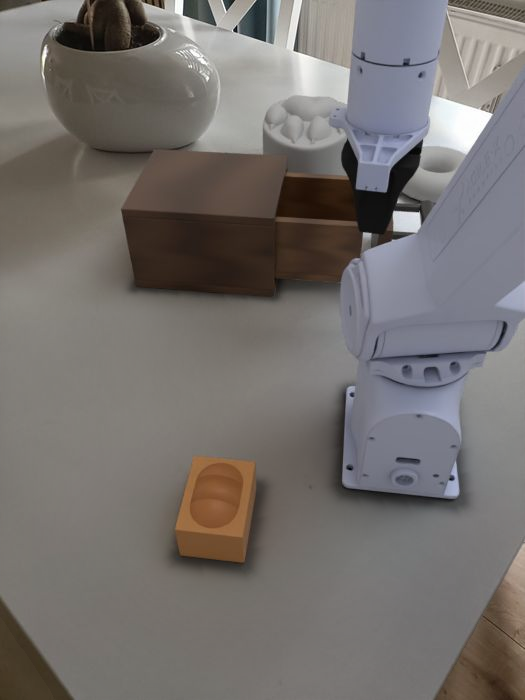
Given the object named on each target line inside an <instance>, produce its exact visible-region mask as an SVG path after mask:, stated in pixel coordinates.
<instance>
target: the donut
mask: <svg viewBox="0 0 525 700" xmlns="http://www.w3.org/2000/svg"><path fill="white" fill-rule="evenodd" d="M420 155H421V158H420V164H419V167H418V169H417V171H416V172H415V174H414V176H413V177H412V178H411V179H410V180H409V181H408V183H407V184H406V185H405V187H404V189H403V190H402V192H401V193H403V194H404V195H406V196H407V197H409V198H412V199H414V200H417V201H419V202H423V201H425V200H430V201H432V202H433V203H434V204H436V202H437V201H438V199H439V197H440V196H441V194H442V193H443V191H444V190H445V188H446V186H447V185H448V183H449V182H450V180H451V179H452V177H453V176H454V174H455V172H456V171H457V169H458V168H459V166H460V165H461V163H462V162H463V160H464V158H465V157H466V155H467V154H466V153H464V152H462V151H460V150H457V149H453V148H451V147H446V146H440V145H424V146H422V152H421V154H420Z"/></svg>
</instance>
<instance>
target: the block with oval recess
mask: <svg viewBox="0 0 525 700" xmlns="http://www.w3.org/2000/svg"><path fill="white" fill-rule="evenodd" d="M190 465H191V466H190V469H189V473H188V477H187V481H186V485H185V488H184V491H183V492H184V493H183V496H182V500H181V504H180V508H179V511H178V515H177V518H176V519H177V520H176V523H175V527H174V532H175V538H176V542H177V546H178V551H179V552H178V553H179V555H180V556H183V557H191V558H200V559H209V560H217V561H225V562H232V563H241V564H244V563H245V561H246V560H245V559H246V556H247V549H248V544H249V537H250V530H251V524H252V519H253V513H254V507H255V501H256V495H257V466H256V465H257V463H256V461H249V460H242V459H241V460H240V459H229V458H220V457H210V456H200V455H194V456H193V458H192V462H191V464H190Z"/></svg>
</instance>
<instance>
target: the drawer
mask: <svg viewBox="0 0 525 700" xmlns="http://www.w3.org/2000/svg"><path fill="white" fill-rule="evenodd" d="M434 205H435V203H433V202H432V201H430V200H425V201H420V203H405V202H404V203H403V202H397V203H396V206H395V209H394V212H401V213H402V212H404V213H419V222H420V226H421V225H422V224H423V222H424V221H425V219H426V218H427V216H428V215H429V213H430V211H431V210H432V208H433V207H434ZM414 233H416V232H412V231H399V230H398V231H397V230H394V214H393V215H392V218H391V220H390V223H389V225H388V228H387V230H386V232H385V234H383V235H380V234H372V233H370V234H371V235H370V236H371V237H370V238H371V239H370V240H371V242H370V243H371V244H370V249H371V248H374V247H377V246H379V245H382V244H385V243H388V242H391V241H394V240H397V239H400V238H404V237H406V236H409V235H412V234H414ZM363 237H364V232H360V231H359V229H358V224H357V218H356V209H355V201H354V194H353V190H352V187H351V183H350V181H349V178H348V176H345V175H326V174H308V173H289V172H286V174H285V179H284V183H283V188H282V193H281V197H280V202H279V206H278V211H277V216H276V220H275V278H278V279H280V280H281V279H282V280H294V281H307V282H308V281H310V282H325V283H337V284H341V279H342V274H343V272H344V270H345V269H346V267H347V266H348V265H349V263H350V262H351V261H352V259H355V258H361V257H362V248H363V247H362V246H363V239H364V238H363Z"/></svg>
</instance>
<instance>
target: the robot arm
mask: <svg viewBox="0 0 525 700" xmlns="http://www.w3.org/2000/svg"><path fill="white" fill-rule="evenodd" d="M448 5H449V0H355V4H354V17H353V29H352V41H351V54H350V65H349V75H348V76H349V79H348V88H347V89H348V90H347V102H346V104H347V108H340V107H337V108H334V109H333V110H332V111H331V114H330V117H329V125H330V126H331V127H336V128H342V129H343V130H344V131H345V133H346V136H347V141H346V143H345V144H344V146H343V149H342V152H341V162H342V167H343V169H344V170H345V172H346V174H347V176H348V178H349V181H350V183H351V187H352V190H353V194H354V201H355V209H356V218H357V224H358V229H359V231H360V232H363V233H365V234H371V233H372V234H380V235H383V234H385V232H386V230H387V228H388V225H389V223H390V220H391V218H392V215H393V216H394V212H395V211H394V209H395V206H396V203H398V201H399V199H400V196H401V194H402V193H403V192H402V190H403V189H404V187H405V185H406V184H407V183H408V181H409V180H410V179H411V178H412V177H413V176H414V174H415V172H416V171H417V169H418V167H419V164H420V158H421V155H420V154H421V152H422V147H424V146H423V145H424V139H425V138H426V137H427V136H428V134H429V132H430V127H431V117H430V116H429V114H430V110H431V109H430V108H431V104H432V98H433V91H434V87H435V79H436V75H437V74H436V73H437V69H438V64H439V57H440V51H441V46H442V40H443V34H444V28H445V23H446V17H447V11H448ZM339 306H340V307H339V309H340V311H339V312H340V322H341V330H342V336H343V340H344V344H345V346H346V349H347V351H348V352H349V353H350V354H351V355H353V357H354V358H355V359H356V360H357V361H358V363H357V371H356V379H355V385H349V386H348V387H347V388H346V391H345V409H344V410H345V411H344V429H343V430H344V431H343V432H344V433H343V450H342V452H343V453H342V470H341V471H342V473H341V484H342V485H343V486H344V487H345V488H347V489H354V490H363V491H371V492H372V491H373V492H383V493H391V494H400V495H410V496H421V497H427V498H428V497H429V498H440V499H448V500H455V499H457V498H458V497H459V495H460V483H459V474H458V465H457V457H458V454H459V451H460V449H461V445H462V428H461V419H460V406H461V405H460V403H461V399H462V395H463V393H464V390H465V387H466V384H467V380H468V377H469V373H470V371H471V370H473V369H475V368H481V367H483V365H484V362H485V359H486V356H487V353H489V352H490V353H491V352H493V353H499V352H502V351H504V350H505V349H506V348H507V347H508V346H509V345H510V343H511V341H512V340H513V337H514V336H515V335H516V333H517V331H518V329H519V325H520V323H521V322H522V321H523V320H524V319H525V64H524V65H523V66H522V68H521V70H520V71H519V72H518V74H517V76H516V77H515V79H514V80H513V82H512V83H511V85H510V87H509V89H508V90H507V92H506V93H505V95H504V96H503V98H502V99H501V101H500V103H498V106H497V107H496V109H495V110H494V112H493V113H492V115H491V117H490V118H489V119H488V121H487V122H486V124H485V126H484V127H483V129H482V130H481V132H480V133H479V135H478V137H477V138H476V140H475V141H474V142H473V144H472V146H471V148H470V149H469V150H468V152H467V154H466V157H465V158H464V160H463V162H462V163H461V165H460V166H459V168H458V169H457V171H456V172H455V174H454V176H453V177H452V179H451V180H450V182H449V183H448V185H447V186H446V188H445V190H444V191H443V193H442V194H441V196H440V197H439V199H438V201H437V202H436V203H434V207H433V208H432V210H431V211H430V213H429V215H428V216H427V218H426V219H425V221H424V222H423V224H422V225H421V224H420V227H419V229H418V230H417V232H415V233H414V234H412V235H409V236H406V237H404V238H400V239H397V240H392V241H391V242H388V243H385V244H382V245H379V246H377V247H374V248H371V247H370V248H368V249H366V250H364V251H363V253H362V254H361V256H360V258H355V259H352V261H351V262H350V263H349V265H348V266H347V267H346V269H345V270H344V272H343V274H342V279H341V283H340V288H339ZM349 468H350V469H351V470H349ZM450 479H451V480H450Z"/></svg>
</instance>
